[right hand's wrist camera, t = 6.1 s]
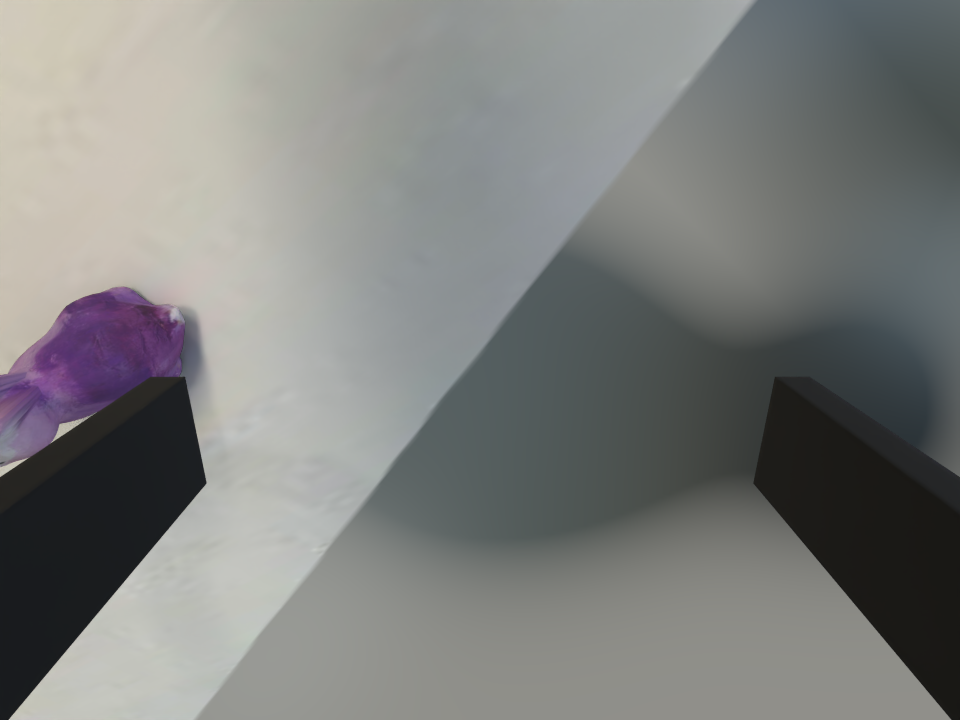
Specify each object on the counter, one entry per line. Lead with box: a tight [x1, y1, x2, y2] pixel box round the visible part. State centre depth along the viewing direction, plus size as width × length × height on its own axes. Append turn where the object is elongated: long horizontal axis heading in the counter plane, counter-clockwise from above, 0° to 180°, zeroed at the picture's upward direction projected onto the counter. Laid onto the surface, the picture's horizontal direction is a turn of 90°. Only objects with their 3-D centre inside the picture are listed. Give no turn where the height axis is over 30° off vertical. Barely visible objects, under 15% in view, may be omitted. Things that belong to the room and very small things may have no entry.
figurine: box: [0, 287, 185, 467], centre depth 34 cm, size 9×10×15 cm
